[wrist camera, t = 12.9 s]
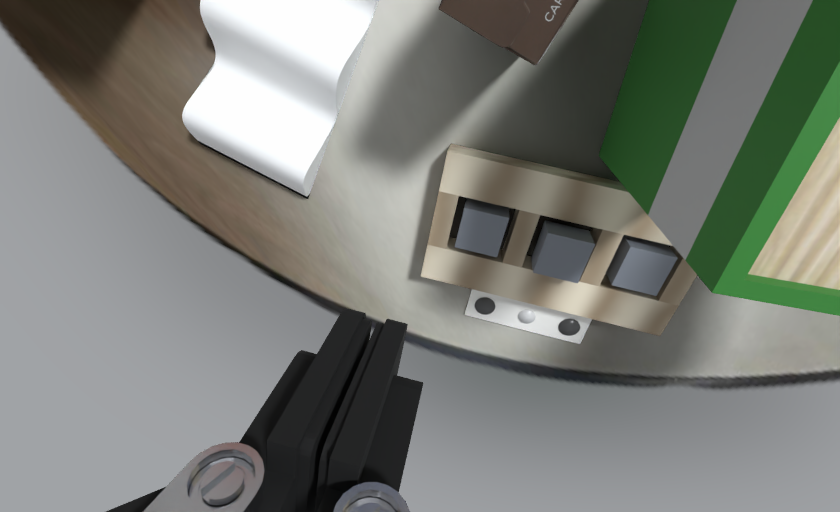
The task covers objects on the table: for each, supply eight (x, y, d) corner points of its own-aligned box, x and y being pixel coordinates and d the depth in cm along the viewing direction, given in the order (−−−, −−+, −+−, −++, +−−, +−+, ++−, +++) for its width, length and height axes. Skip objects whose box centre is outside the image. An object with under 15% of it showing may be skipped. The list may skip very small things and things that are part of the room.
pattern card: (592, 316, 47) (593, 318, 47) (579, 342, 49) (580, 344, 48) (472, 286, 48) (472, 288, 47) (464, 313, 50) (464, 315, 49)
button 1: (508, 207, 42) (509, 218, 39) (497, 244, 44) (497, 257, 41) (466, 197, 42) (464, 207, 40) (457, 234, 44) (454, 247, 42)
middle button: (589, 230, 40) (595, 244, 38) (573, 268, 42) (577, 283, 40) (544, 220, 41) (547, 232, 38) (531, 258, 43) (533, 272, 40)
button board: (717, 204, 39) (733, 215, 36) (651, 319, 46) (660, 336, 43) (450, 143, 41) (447, 150, 38) (425, 263, 47) (420, 276, 45)
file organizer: (203, 145, 46) (171, 157, 42) (288, -295, 29) (249, -356, 25) (309, 200, 47) (288, 217, 43) (451, -196, 30) (442, -237, 25)
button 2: (666, 243, 41) (677, 258, 38) (646, 280, 43) (656, 296, 40) (622, 233, 41) (630, 246, 39) (604, 270, 43) (611, 285, 41)
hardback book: (675, -81, 30) (1062, -343, 9) (782, -71, 30) (1459, -330, 9) (598, 155, 39) (712, 292, 18) (680, 168, 38) (897, 326, 17)
